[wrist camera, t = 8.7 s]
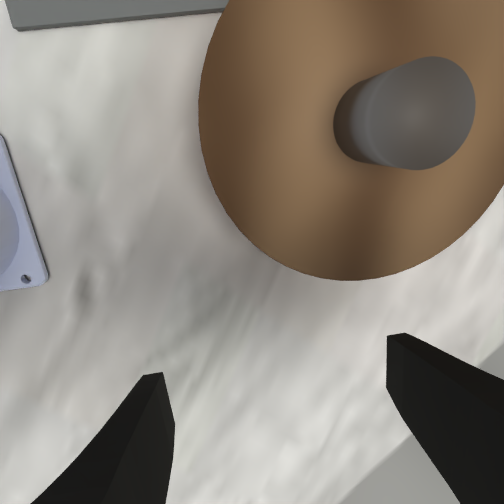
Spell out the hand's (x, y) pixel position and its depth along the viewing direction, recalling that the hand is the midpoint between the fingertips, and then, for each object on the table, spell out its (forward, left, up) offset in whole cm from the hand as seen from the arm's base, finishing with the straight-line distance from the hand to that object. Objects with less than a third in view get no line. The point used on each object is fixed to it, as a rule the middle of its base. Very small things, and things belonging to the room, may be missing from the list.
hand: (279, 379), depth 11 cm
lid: (+5, +7, -5) cm, 10 cm away
